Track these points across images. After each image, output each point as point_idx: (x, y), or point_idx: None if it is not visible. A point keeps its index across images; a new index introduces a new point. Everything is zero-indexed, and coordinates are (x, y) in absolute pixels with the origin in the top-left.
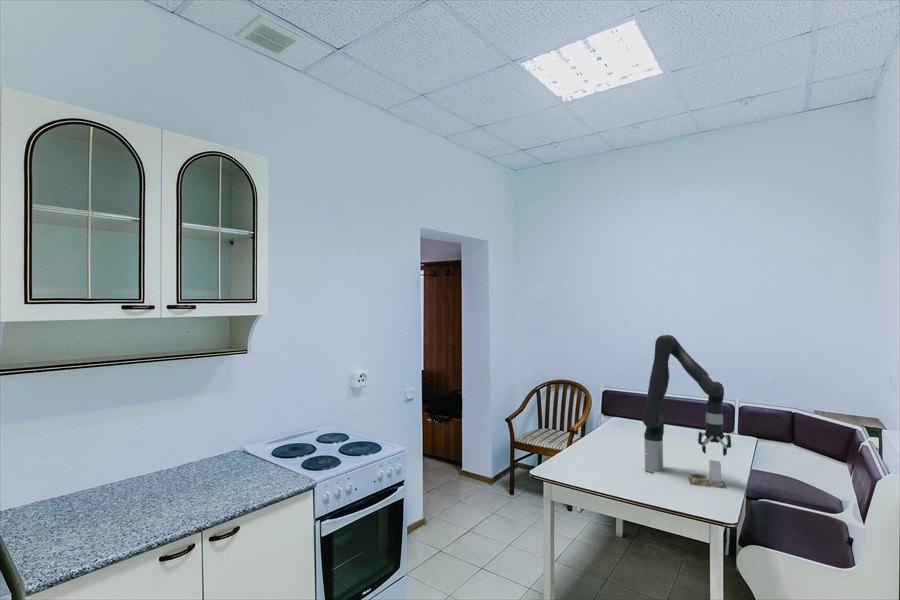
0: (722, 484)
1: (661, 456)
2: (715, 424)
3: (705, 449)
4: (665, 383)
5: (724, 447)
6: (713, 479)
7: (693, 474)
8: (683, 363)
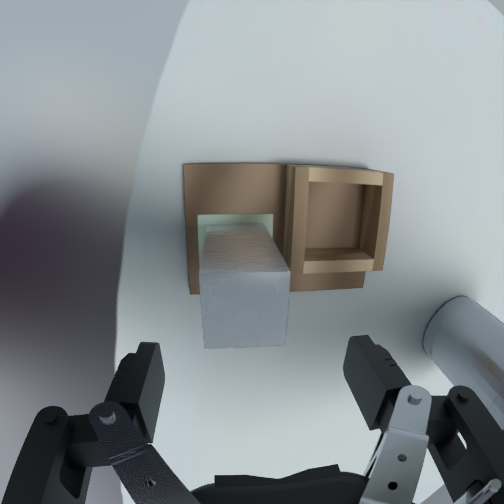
0: (202, 223)
1: (479, 351)
2: None
3: (372, 362)
4: None
5: (124, 412)
6: (252, 229)
7: (359, 258)
8: None
